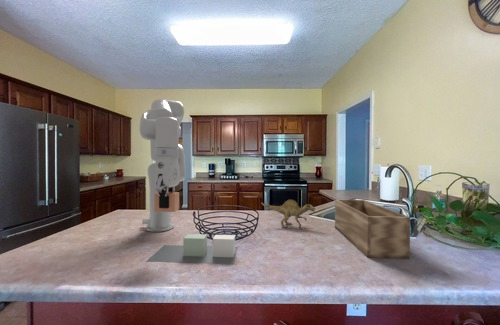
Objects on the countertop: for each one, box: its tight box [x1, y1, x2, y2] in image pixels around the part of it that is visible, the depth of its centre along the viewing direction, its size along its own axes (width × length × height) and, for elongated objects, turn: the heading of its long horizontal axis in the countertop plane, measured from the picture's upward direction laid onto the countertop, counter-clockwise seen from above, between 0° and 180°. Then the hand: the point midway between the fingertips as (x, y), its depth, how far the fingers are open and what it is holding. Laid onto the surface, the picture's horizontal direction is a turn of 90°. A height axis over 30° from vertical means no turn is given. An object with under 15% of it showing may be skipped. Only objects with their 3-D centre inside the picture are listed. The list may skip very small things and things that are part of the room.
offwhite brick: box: [212, 234, 236, 257], centre depth 73 cm, size 7×4×6 cm, turn 87°
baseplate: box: [146, 244, 239, 265], centre depth 74 cm, size 28×13×1 cm, turn 87°
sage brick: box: [182, 233, 208, 257], centre depth 74 cm, size 7×4×6 cm, turn 87°
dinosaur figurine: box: [260, 199, 316, 229], centre depth 108 cm, size 8×26×13 cm, turn 80°
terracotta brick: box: [154, 191, 180, 213], centre depth 74 cm, size 7×4×6 cm, turn 87°
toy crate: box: [334, 199, 411, 260], centre depth 89 cm, size 14×32×14 cm, turn 177°
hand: (167, 205), depth 74 cm, fingers closed on terracotta brick, 3 cm apart
